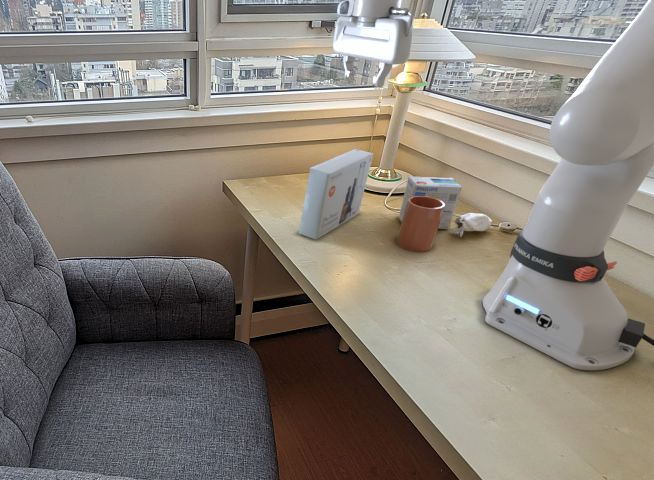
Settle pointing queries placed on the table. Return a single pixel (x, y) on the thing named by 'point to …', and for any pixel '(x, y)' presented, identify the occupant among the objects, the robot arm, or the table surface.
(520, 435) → the table surface
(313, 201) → the skincare box
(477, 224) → the bird figurine
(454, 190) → the light bulb box
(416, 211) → the pen cup
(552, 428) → the table surface
